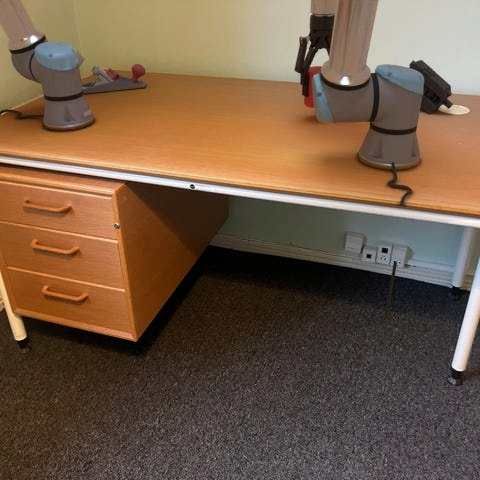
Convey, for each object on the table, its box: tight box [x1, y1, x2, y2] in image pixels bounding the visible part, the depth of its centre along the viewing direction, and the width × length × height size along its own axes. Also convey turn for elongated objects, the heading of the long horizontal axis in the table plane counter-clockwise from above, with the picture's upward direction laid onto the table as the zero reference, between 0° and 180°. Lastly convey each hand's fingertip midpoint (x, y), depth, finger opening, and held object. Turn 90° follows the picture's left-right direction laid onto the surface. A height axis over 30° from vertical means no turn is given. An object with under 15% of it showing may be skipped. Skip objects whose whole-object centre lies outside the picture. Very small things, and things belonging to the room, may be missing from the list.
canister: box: [303, 65, 322, 109], centre depth 161 cm, size 9×9×10 cm
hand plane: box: [75, 49, 146, 95], centre depth 194 cm, size 7×31×15 cm, turn 107°
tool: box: [408, 59, 454, 114], centre depth 170 cm, size 6×19×15 cm, turn 51°
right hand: (318, 93), depth 162 cm, fingers closed on canister, 9 cm apart
